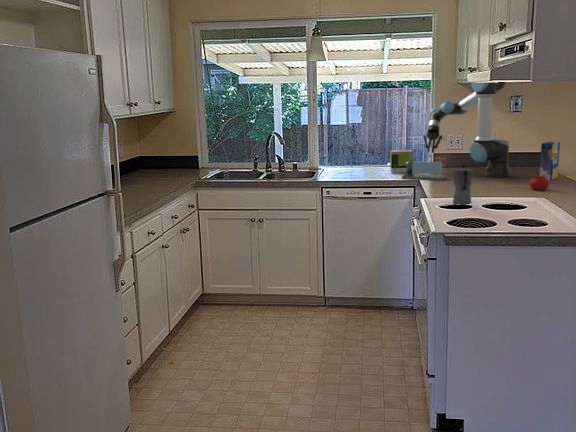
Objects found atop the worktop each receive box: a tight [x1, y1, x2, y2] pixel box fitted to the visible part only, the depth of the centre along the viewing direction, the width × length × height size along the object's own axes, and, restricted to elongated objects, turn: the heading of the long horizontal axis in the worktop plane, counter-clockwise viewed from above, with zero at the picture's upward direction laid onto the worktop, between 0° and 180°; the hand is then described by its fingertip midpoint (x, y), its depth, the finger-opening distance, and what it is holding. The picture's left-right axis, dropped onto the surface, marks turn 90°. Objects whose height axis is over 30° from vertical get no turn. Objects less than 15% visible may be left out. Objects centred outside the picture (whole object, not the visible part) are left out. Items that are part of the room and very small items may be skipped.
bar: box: [405, 160, 443, 175], centre depth 386 cm, size 22×4×7 cm, turn 66°
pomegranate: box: [529, 172, 550, 191], centre depth 336 cm, size 10×10×9 cm
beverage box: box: [539, 141, 561, 181], centre depth 371 cm, size 7×11×22 cm, turn 136°
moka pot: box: [452, 164, 474, 205], centre depth 297 cm, size 10×15×20 cm, turn 178°
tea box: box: [389, 149, 415, 174], centre depth 411 cm, size 15×10×15 cm, turn 84°
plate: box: [401, 173, 446, 182], centre depth 384 cm, size 25×12×3 cm, turn 66°
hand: (430, 156), depth 395 cm, fingers closed
